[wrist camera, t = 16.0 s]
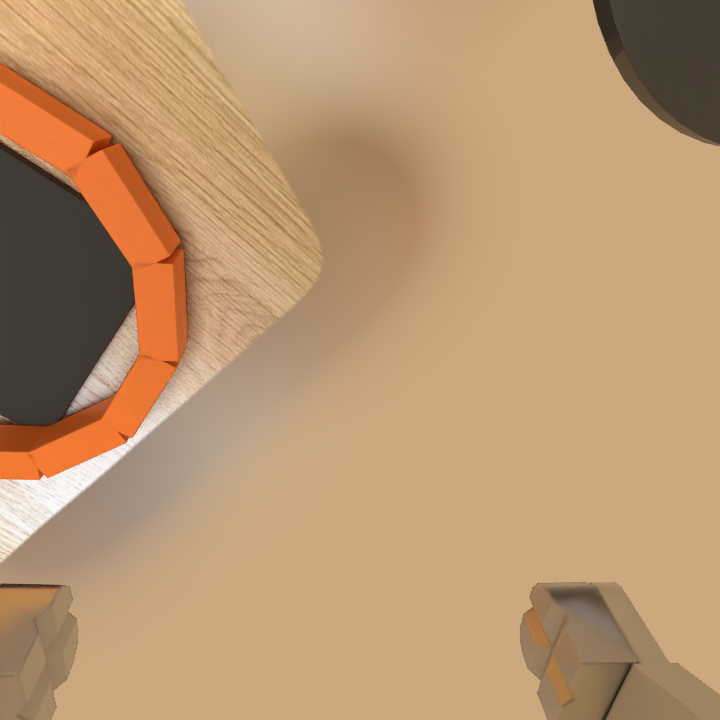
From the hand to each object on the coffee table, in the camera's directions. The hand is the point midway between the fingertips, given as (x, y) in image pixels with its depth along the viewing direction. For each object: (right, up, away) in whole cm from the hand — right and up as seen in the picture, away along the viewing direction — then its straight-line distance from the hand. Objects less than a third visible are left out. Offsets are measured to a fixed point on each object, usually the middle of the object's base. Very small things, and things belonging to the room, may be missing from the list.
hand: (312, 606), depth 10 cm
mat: (-22, +9, +24) cm, 34 cm away
